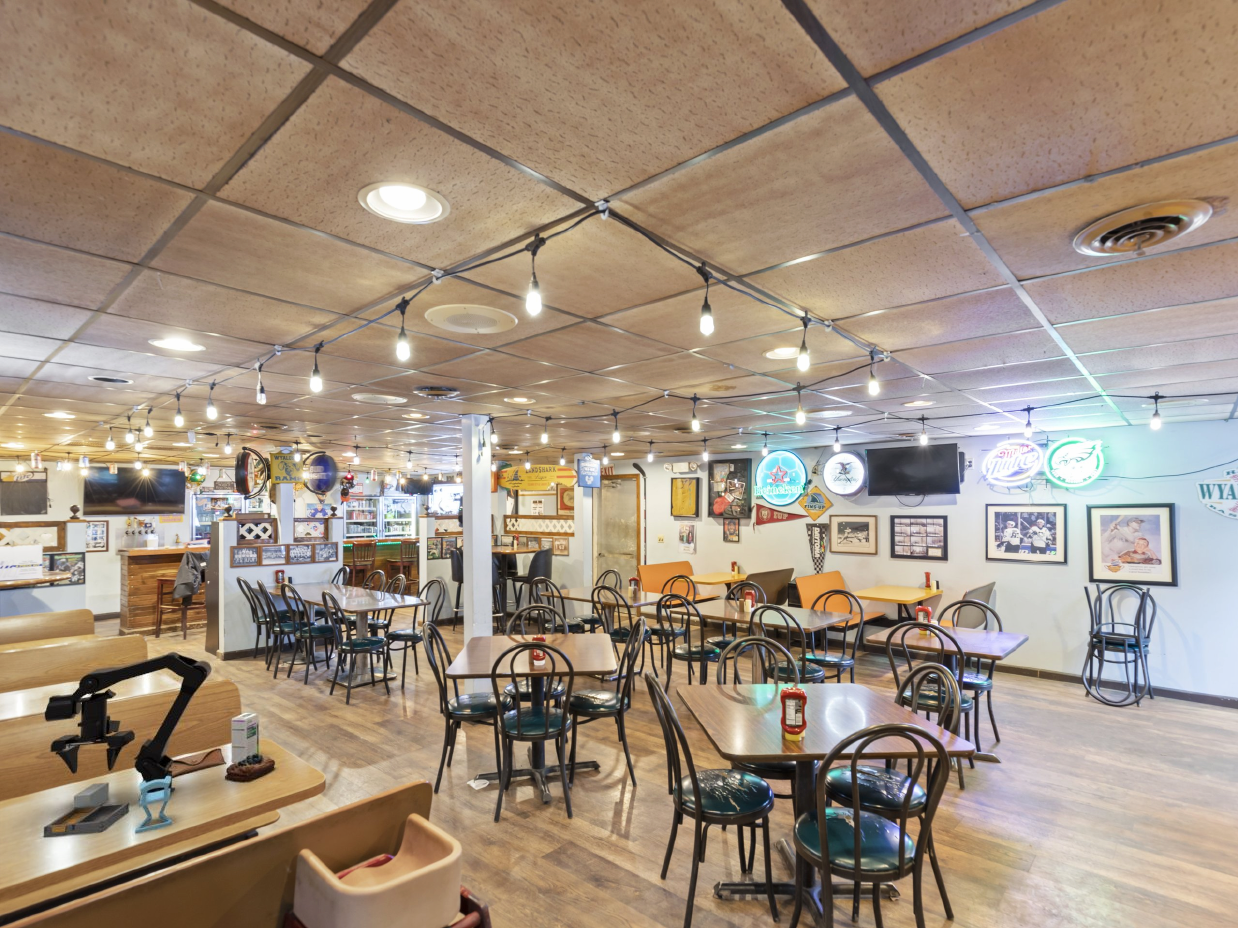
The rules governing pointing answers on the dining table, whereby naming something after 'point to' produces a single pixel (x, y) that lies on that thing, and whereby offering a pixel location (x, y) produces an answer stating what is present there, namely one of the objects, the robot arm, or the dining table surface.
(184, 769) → the sunglasses case
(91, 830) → the dark grey flat tray
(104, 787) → the grey rectangular block
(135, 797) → the dining table surface
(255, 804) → the dining table surface
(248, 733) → the syrup box
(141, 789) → the chair
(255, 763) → the pastry
